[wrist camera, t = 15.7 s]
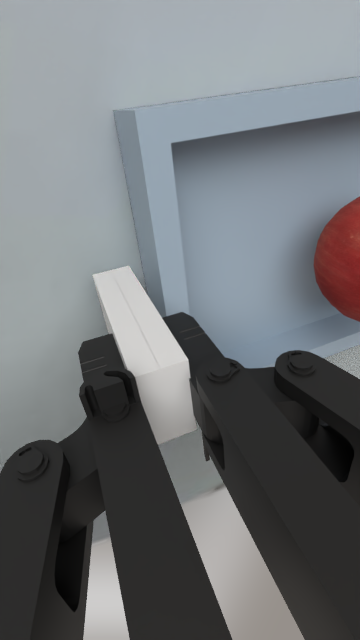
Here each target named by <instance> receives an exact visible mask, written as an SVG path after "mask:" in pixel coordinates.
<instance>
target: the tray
mask: <svg viewBox="0 0 360 640" xmlns="http://www.w3.org/2000/svg"><path fill="white" fill-rule="evenodd" d="M114 117H115V122H116V127H117V133H118V138H119V143H120V149H121V154H122V160H123V165H124V170H125V176H126V181H127V187H128V192H129V197H130V203H131V208H132V214H133V219H134V224H135V230H136V235H137V241H138V246H139V251H140V257H141V262H142V268H143V273H144V278H145V284H146V289H147V294H148V297H149V298H150V300H151V301H152V303H153V305H154V306H155V308H156V309H157V311H158V312H159V314H160V316H161V317H166V316H169V315H173V314H176V313H180V312H184V313H186V314H188V315H190V316H192V317H194V319H195V320H196V321H197V323H198V324H199V325H200V327H201V328H202V329H203V330H204V331H205V334H207V335H208V336H209V338H210V339H211V340H212V342H213V343H214V344H215V345H216V347H217V348H218V349H219V350H220V352H221V353H222V354H223V356H224V357H225V358H230V359H233V360H236V361H238V362H239V363H240V364H241V365H243V366H244V368H265V367H275V362H276V359H277V358H278V357H279V356H280V355H281V354H282V353H285V352H288V351H294V350H302V351H308V352H311V353H313V354H316V355H318V356H320V357H322V358H326V357H328V356H331V355H333V354H336V353H339V352H341V351H344V350H347V349H349V348H352V347H354V346H357V345H360V322H359V321H356V320H354V319H351V318H349V317H346V316H344V315H343V314H342V313H341V312H339V311H338V310H337V309H336V308H335V307H334V306H332V305H331V303H330V302H329V301H328V300H327V299H326V298H325V297H324V295H323V294H322V292H321V290H320V288H319V286H318V284H317V282H316V278H315V271H314V265H313V264H314V255H315V251H316V247H317V242H318V239H319V237H320V234H321V233H322V231H323V229H324V227H325V226H326V224H327V223H328V222H329V221H330V220H331V219H332V218H333V216H334V215H335V214H336V213H337V212H338V211H339V210H340V209H341V208H342V207H344V206H345V205H347V204H348V203H350V202H351V201H353V200H355V199H356V198H358V197H360V76H359V77H352V78H345V79H338V80H330V81H323V82H316V83H309V84H302V85H294V86H287V87H280V88H273V89H265V90H258V91H251V92H244V93H237V94H229V95H222V96H215V97H208V98H201V99H193V100H186V101H179V102H172V103H165V104H157V105H150V106H143V107H136V108H128V109H121V110H114Z"/></svg>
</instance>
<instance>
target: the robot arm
mask: <svg viewBox="0 0 360 640" xmlns="http://www.w3.org/2000/svg"><path fill="white" fill-rule="evenodd" d="M93 279H94V283H95V286H96V290H97V294H98V297H99V301H100V304H101V308H102V312H103V315H104V319H105V323H106V326H107V330H108V333H109V334H108V335H105V336H101V337H98V338H94V339H91V340H88V341H84V342H83V343H82V345H81V347H80V350H79V352H78V354H79V359H80V364H81V370H82V375H83V380H84V382H83V384H82V385H81V387H80V393H79V397H80V399H81V402H82V404H83V407H84V410H85V412H86V415H87V418H86V419H85V421H84V423H83V424H82V425H81V426H80V427H79V428H78V430H77V431H75V432H74V433H73V434H71V435H70V436H69V437H67V438H65V439H64V440H62V441H61V442H59V443H56V442H53V441H51V440H38V441H35V442H31V443H28V444H26V445H25V446H23V447H22V448H20V449H18V450H17V451H16V452H15V453H14V454H13V455H12V456H11V457H10V458H9V459H8V460H7V462H6V463H5V465H4V467H3V469H2V471H1V473H0V640H83V634H84V623H85V611H86V600H87V589H88V577H89V566H90V555H91V544H92V532H93V520H94V519H95V518H96V517H98V516H99V515H100V514H101V513H102V512H104V511H105V510H106V516H107V521H108V526H109V531H110V537H111V542H112V547H113V552H114V557H115V563H116V568H117V573H118V579H119V584H120V589H121V595H122V600H123V605H124V611H125V616H126V621H127V626H128V631H129V637H130V640H232V638H231V635H230V632H229V630H228V627H227V625H226V622H225V619H224V617H223V614H222V612H221V609H220V606H219V604H218V601H217V599H216V596H215V593H214V590H213V588H212V585H211V583H210V580H209V577H208V575H207V572H206V570H205V567H204V564H203V562H202V559H201V557H200V554H199V551H198V549H197V546H196V543H195V541H194V538H193V536H192V533H191V530H190V528H189V525H188V523H187V520H186V517H185V515H184V512H183V510H182V507H181V504H180V502H179V499H178V497H177V494H176V491H175V489H174V486H173V483H172V481H171V478H170V476H169V473H168V470H167V468H166V465H165V463H164V460H163V457H162V455H161V452H160V450H159V447H158V445H159V444H161V443H164V442H167V441H169V440H172V439H174V438H177V437H180V436H182V435H185V434H187V433H190V432H193V431H195V430H197V426H196V420H197V422H198V424H199V426H200V428H201V430H202V436H203V445H204V454H205V458H206V461H208V460H210V457H211V459H212V460H213V462H214V464H215V466H216V468H217V470H218V472H219V474H220V476H221V478H222V480H223V482H224V484H225V486H226V488H227V490H228V491H229V493H230V495H231V497H232V499H233V501H234V503H235V505H236V507H237V508H238V511H239V513H240V515H241V517H242V519H243V521H244V522H245V524H246V526H247V528H248V530H249V532H250V534H251V536H252V538H253V540H254V542H255V544H256V546H257V548H258V550H259V551H260V554H261V555H262V557H263V559H264V561H265V563H266V565H267V567H268V569H269V571H270V573H271V575H272V577H273V579H274V581H275V583H276V585H277V586H278V588H279V590H280V592H281V594H282V596H283V598H284V600H285V602H286V604H287V606H288V608H289V610H290V611H291V614H292V616H293V617H294V619H295V621H296V623H297V625H298V627H299V629H300V631H301V633H302V635H303V637H304V639H305V640H360V379H358V378H357V377H355V376H353V375H351V374H350V373H348V372H346V371H344V370H343V369H341V368H339V367H337V366H336V365H334V364H332V363H330V362H329V361H327V360H325V359H323V358H322V357H320V356H318V355H316V354H313V353H311V352H308V351H302V350H294V351H288V352H285V353H282V354H281V355H280V356H279V357H278V358H277V359H276V362H275V367H265V368H244V366H243V365H241V364H240V363H239V362H238V361H236V360H233V359H230V358H225V357H224V356H223V354H222V353H221V352H220V350H219V349H218V348H217V347H216V345H215V344H214V343H213V342H212V340H211V339H210V338H209V336H208V335H207V334H205V331H204V330H203V329H202V328H201V327H200V325H199V324H198V323H197V321H196V320H195V319H194V317H192V316H190V315H188V314H186V313H184V312H180V313H176V314H173V315H169V316H166V317H161V316H160V314H159V312H158V311H157V309H156V308H155V306H154V305H153V303H152V301H151V300H150V298H149V297H148V295H147V294H146V292H145V290H144V289H143V287H142V286H141V284H140V282H139V281H138V279H137V278H136V276H135V275H134V273H133V271H132V270H131V268H130V267H129V266H126V267H122V268H118V269H114V270H109V271H105V272H101V273H97V274H93ZM209 455H210V457H209Z"/></svg>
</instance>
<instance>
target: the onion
mask: <svg viewBox="0 0 360 640" xmlns="http://www.w3.org/2000/svg"><path fill="white" fill-rule="evenodd" d="M313 265H314V271H315V278H316V282H317V284H318V286H319V288H320V290H321V292H322V294H323V295H324V297H325V298H326V299H327V300H328V301H329V302H330V303H331V305H332V306H334V307H335V308H336V309H337V310H338V311H339V312H341V313H342V314H343V315H344V316H346V317H349V318H351V319H354V320H356V321H359V322H360V197H358V198H356V199H355V200H353V201H351V202H350V203H348V204H347V205H345V206H344V207H342V208H341V209H340V210H339V211H338V212H337V213H336V214H335V215H334V216H333V218H332V219H331V220H330V221H329V222H328V223H327V224H326V226H325V227H324V229H323V231H322V233H321V234H320V237H319V239H318V242H317V247H316V251H315V255H314V264H313Z"/></svg>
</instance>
